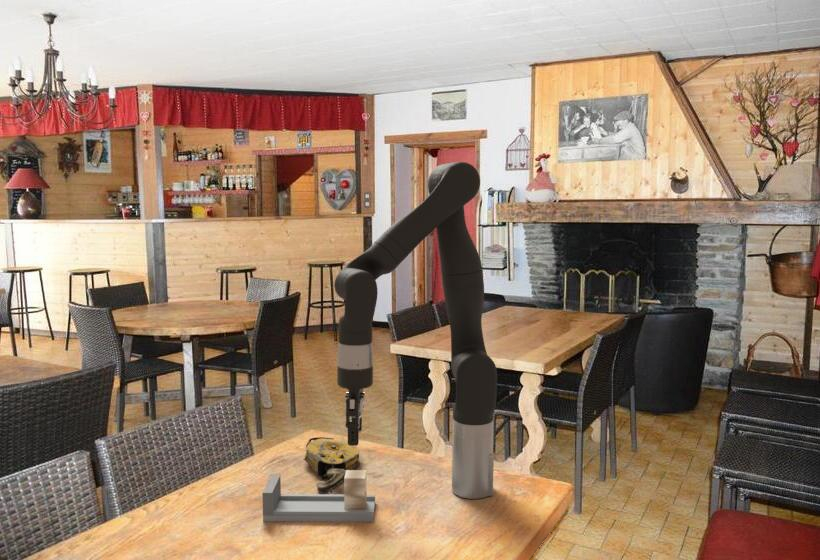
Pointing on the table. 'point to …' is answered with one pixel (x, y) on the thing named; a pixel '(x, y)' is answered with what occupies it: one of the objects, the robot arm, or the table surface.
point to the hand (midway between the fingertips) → (354, 437)
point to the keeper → (355, 490)
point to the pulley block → (331, 461)
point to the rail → (310, 506)
